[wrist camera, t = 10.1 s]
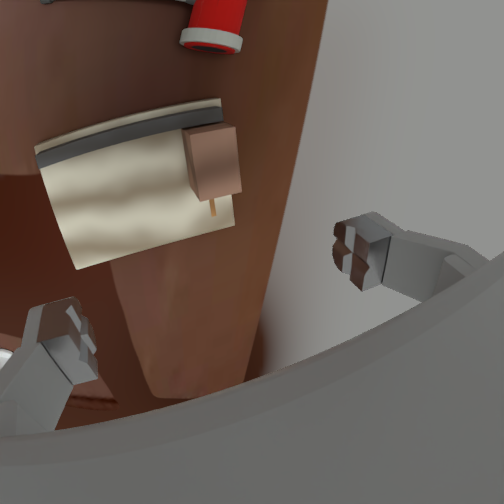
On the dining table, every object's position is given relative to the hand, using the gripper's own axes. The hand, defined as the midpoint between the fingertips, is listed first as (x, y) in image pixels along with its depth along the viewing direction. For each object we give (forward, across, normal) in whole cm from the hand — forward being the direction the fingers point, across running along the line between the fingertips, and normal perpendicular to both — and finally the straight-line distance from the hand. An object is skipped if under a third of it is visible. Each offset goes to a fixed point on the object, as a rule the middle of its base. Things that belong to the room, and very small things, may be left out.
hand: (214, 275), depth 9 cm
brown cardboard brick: (+27, -6, +4) cm, 28 cm away
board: (+29, +2, +6) cm, 30 cm away
